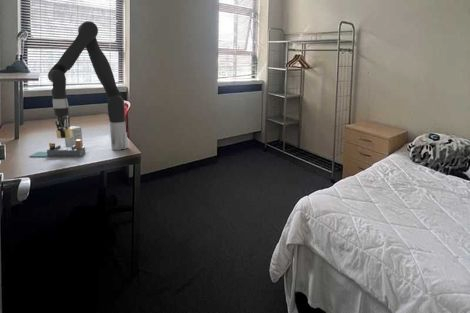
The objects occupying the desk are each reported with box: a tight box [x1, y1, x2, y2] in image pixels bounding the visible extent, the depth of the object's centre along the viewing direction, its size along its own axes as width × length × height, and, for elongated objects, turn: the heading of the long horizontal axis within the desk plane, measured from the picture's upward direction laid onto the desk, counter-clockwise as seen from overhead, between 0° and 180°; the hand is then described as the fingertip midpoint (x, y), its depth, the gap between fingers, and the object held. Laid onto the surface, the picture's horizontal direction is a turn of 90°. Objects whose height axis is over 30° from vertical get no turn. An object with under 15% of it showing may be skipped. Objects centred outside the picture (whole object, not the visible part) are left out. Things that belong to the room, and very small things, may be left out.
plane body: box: [46, 138, 86, 158], centre depth 192 cm, size 18×8×9 cm, turn 94°
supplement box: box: [64, 125, 84, 147], centre depth 210 cm, size 7×7×13 cm
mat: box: [29, 151, 49, 158], centre depth 193 cm, size 9×9×1 cm
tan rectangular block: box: [55, 128, 73, 139], centre depth 190 cm, size 7×4×5 cm, turn 94°
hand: (65, 136), depth 190 cm, fingers closed on tan rectangular block, 4 cm apart
